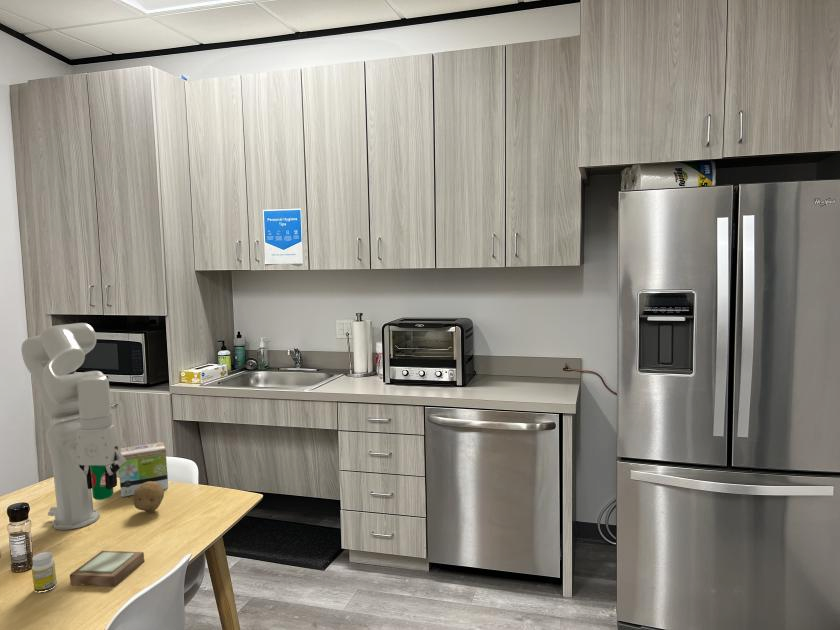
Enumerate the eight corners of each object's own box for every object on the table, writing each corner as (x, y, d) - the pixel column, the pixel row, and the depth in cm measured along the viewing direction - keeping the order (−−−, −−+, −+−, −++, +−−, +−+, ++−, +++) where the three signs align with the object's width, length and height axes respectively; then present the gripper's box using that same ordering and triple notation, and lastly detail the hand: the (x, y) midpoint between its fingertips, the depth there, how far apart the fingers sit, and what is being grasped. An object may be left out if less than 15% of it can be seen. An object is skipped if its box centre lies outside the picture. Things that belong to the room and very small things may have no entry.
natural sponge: (156, 519, 184) (153, 487, 183) (128, 519, 185) (125, 488, 184) (170, 506, 193) (167, 476, 192) (143, 507, 194) (140, 477, 193)
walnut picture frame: (70, 584, 148) (69, 573, 147) (103, 560, 159) (101, 549, 159) (115, 586, 146) (113, 574, 146) (144, 561, 158) (143, 550, 157)
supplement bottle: (40, 583, 149) (37, 551, 148) (60, 582, 149) (57, 550, 148) (30, 594, 144) (26, 561, 143) (50, 593, 144) (46, 559, 143)
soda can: (104, 501, 159) (100, 457, 158) (88, 500, 160) (84, 457, 159) (118, 493, 164) (114, 451, 163) (102, 492, 165) (98, 450, 164)
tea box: (121, 498, 202) (117, 456, 200) (120, 489, 211) (116, 448, 209) (169, 489, 208) (165, 447, 207) (166, 480, 217) (163, 440, 216)
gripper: (57, 425, 158) (64, 492, 160) (116, 426, 155) (122, 493, 157) (77, 417, 165) (83, 481, 167) (134, 418, 162) (139, 482, 164)
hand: (102, 486), depth 162 cm, fingers closed on soda can, 5 cm apart
